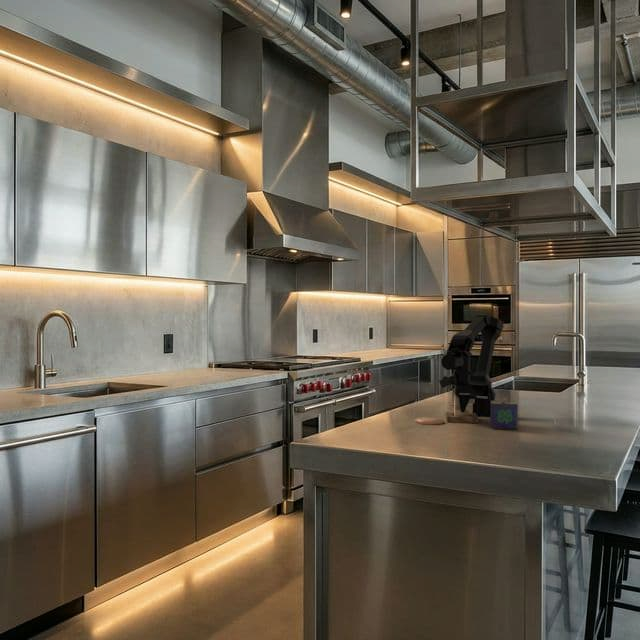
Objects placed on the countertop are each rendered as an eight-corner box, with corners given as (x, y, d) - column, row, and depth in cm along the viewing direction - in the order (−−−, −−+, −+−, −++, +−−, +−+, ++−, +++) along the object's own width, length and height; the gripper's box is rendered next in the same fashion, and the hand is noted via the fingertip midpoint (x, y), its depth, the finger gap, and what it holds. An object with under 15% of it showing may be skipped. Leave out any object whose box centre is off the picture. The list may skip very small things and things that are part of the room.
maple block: (467, 419, 232) (468, 395, 232) (468, 421, 228) (469, 397, 228) (454, 419, 233) (454, 395, 233) (454, 421, 229) (455, 396, 229)
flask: (516, 428, 214) (516, 397, 214) (518, 430, 211) (519, 398, 211) (489, 428, 215) (489, 397, 215) (491, 429, 212) (491, 398, 212)
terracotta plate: (442, 420, 230) (442, 417, 230) (444, 425, 220) (444, 422, 220) (415, 419, 231) (415, 417, 231) (415, 424, 221) (415, 421, 221)
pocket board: (475, 418, 235) (475, 413, 235) (478, 423, 224) (478, 417, 224) (445, 417, 237) (445, 412, 237) (447, 422, 226) (447, 416, 226)
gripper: (438, 366, 241) (438, 406, 241) (441, 370, 223) (440, 413, 223) (468, 366, 240) (467, 407, 240) (473, 370, 221) (472, 414, 221)
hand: (461, 410), depth 231 cm, fingers open, 8 cm apart
